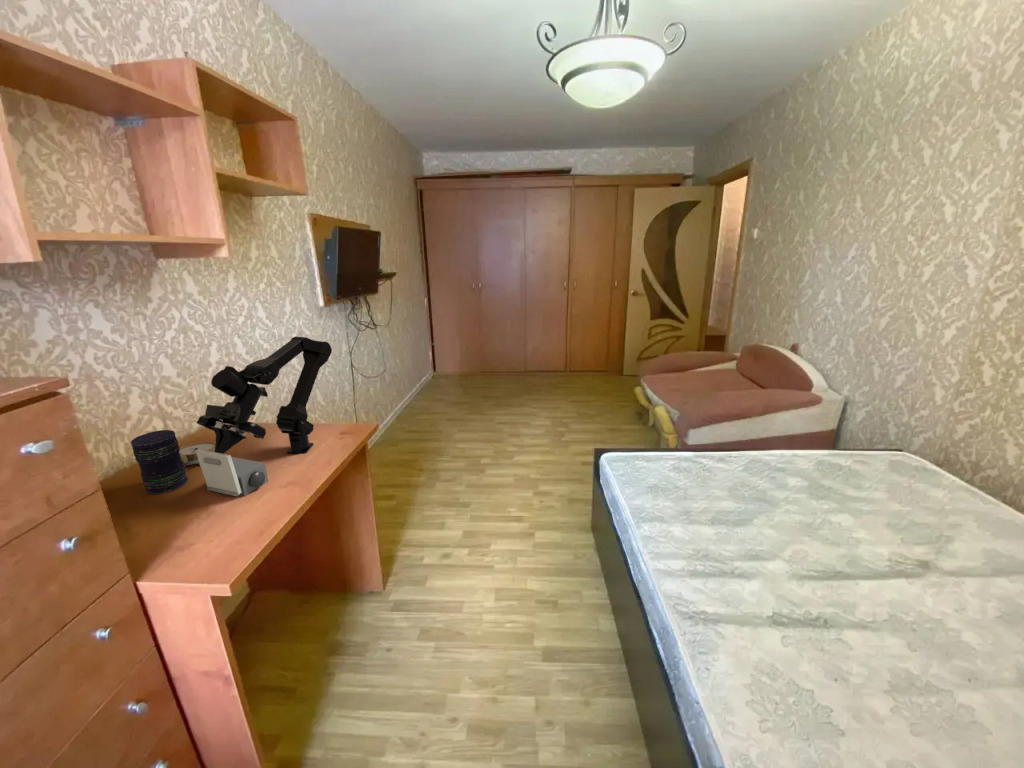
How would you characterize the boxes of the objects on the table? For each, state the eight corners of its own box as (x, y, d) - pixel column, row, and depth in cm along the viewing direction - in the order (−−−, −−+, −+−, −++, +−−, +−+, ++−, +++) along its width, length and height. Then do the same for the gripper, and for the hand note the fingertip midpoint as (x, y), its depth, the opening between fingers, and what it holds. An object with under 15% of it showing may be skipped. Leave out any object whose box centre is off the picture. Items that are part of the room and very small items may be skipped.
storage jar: (176, 492, 121) (162, 443, 116) (137, 495, 119) (121, 447, 114) (195, 474, 130) (182, 428, 125) (158, 477, 129) (144, 431, 124)
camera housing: (236, 475, 130) (232, 457, 128) (271, 482, 126) (268, 463, 125) (211, 488, 123) (207, 470, 121) (248, 496, 119) (244, 477, 117)
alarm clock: (221, 439, 147) (207, 451, 133) (223, 453, 147) (210, 466, 134) (181, 444, 143) (163, 457, 129) (184, 458, 144) (166, 473, 130)
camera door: (211, 487, 122) (198, 449, 117) (242, 494, 119) (230, 455, 114) (205, 491, 121) (192, 452, 116) (236, 498, 118) (224, 458, 113)
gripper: (195, 387, 119) (164, 441, 112) (249, 394, 114) (220, 451, 107) (226, 404, 128) (199, 455, 122) (277, 412, 123) (252, 464, 117)
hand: (216, 456), depth 117 cm, fingers closed, pressing on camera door
